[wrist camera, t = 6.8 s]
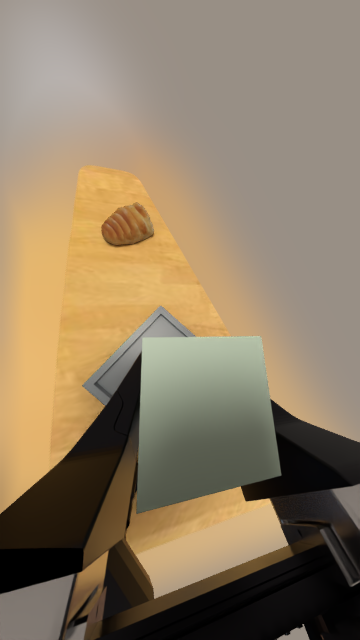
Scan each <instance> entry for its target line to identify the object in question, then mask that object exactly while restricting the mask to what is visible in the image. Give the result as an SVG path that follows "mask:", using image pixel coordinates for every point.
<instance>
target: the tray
mask: <svg viewBox="0 0 360 640" xmlns="http://www.w3.org/2000/svg"><path fill="white" fill-rule="evenodd" d="M144 337H196V336H195V335H193V334H192V333H191V332H190V331H189V330H188V329H187V328H186V327H184V326H183V325H182V324H181V323H180V322H179V321H178V320H177V319H175V318H174V317H173V316H172V315H171V314H170V313H169V312H168V311H166V310H165V309H164V308H163V307H162V306H160V307H159V308H158V309H157V310H156V311H155V312H154V313H153V314H152V315H151V316H150V317H149V318H148V319H147V320H146V321H145V322H144V323H143V324H142V325H141V326H140V327H139V328H138V329H137V330H136V331H135V332H134V333H133V334H132V335H131V336H130V337H129V338H128V339H127V340H126V341H125V342H124V343H123V344H122V345H121V346H120V348H119V349H118V350H117V351H116V352H115V353H114V354H113V355H112V356H111V357H110V358H109V359H108V360H107V361H106V362H105V363H104V364H103V365H102V366H101V367H100V368H99V369H98V370H97V371H96V372H95V373H94V374H93V375H92V376H91V377H90V378H89V379H88V380H87V381H86V382H85V383H84V384H83V385H82V386H83V387H84V388H85V389H86V390H88V391H89V392H90V393H91V394H92V395H93V396H95V397H96V398H97V399H98V400H99V401H100V402H102V403H103V404H104V405H105V406H106V405H107V403H108V402H109V400H110V399H111V397H112V396H113V394H114V393H115V391H116V390H117V388H118V387H119V385H120V384H121V382H122V380H123V379H124V377H125V376H126V374H127V373H128V371H129V370H130V368H131V367H132V365H133V363H134V362H135V360H136V359H137V357H138V356H139V354H140V353H141V351H142V338H144Z"/></svg>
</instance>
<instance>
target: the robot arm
mask: <svg viewBox="0 0 360 640" xmlns="http://www.w3.org/2000/svg"><path fill="white" fill-rule="evenodd" d="M141 367H142V351H141V353H140V354H139V356H138V357H137V359H136V360H135V362H134V363H133V365H132V367H131V368H130V370H129V371H128V373H127V374H126V376H125V377H124V379H123V380H122V382H121V384H120V385H119V387H118V388H117V390H116V391H115V393H114V394H113V396H112V397H111V399H110V400H109V402H108V403H107V405H106V406H105V407H104V409H103V410H102V411H101V413H100V414H99V415H98V417H97V418H96V419H95V421H94V422H93V423H92V424H91V426H90V427H89V428H88V429H87V431H86V432H85V433H84V435H83V436H82V437H81V438H80V440H79V441H78V442H77V443H76V445H75V446H74V447H73V448H72V450H71V451H70V452H69V453H68V454H67V455H66V456H65V457H64V458H63V459H62V460H61V461H60V462H59V463H58V464H57V465H56V466H55V467H54V468H53V469H51V470H50V471H49V472H48V473H47V474H46V475H45V476H44V477H42V478H41V479H40V480H39V481H38V482H37V483H35V484H34V485H33V486H32V487H31V488H30V489H28V490H27V491H26V492H25V493H24V494H23V495H22V496H20V497H19V498H18V499H17V500H16V501H15V502H14V503H12V504H11V505H10V506H9V507H8V508H7V509H6V510H4V511H3V512H2V513H1V514H0V640H277V638H279V637H280V636H282V635H289V634H290V631H291V630H293V629H295V628H301V627H303V625H302V624H304V626H305V629H306V631H307V634H308V637H309V639H310V640H360V442H357V441H354V440H351V439H348V438H346V437H343V436H341V435H338V434H335V433H333V432H330V431H327V430H325V429H322V428H320V427H317V426H314V425H312V424H309V423H307V422H304V421H302V420H300V419H298V418H296V417H294V416H292V415H291V414H290V413H288V412H287V411H286V410H284V409H283V408H282V407H280V406H279V405H278V404H276V403H275V402H274V401H273V400H271V399H270V401H271V408H272V415H273V422H274V428H275V435H276V442H277V449H278V456H279V463H280V470H281V476H277V477H274V478H270V479H266V480H262V481H259V482H255V483H251V484H247V485H243V486H241V489H242V492H243V495H244V498H245V501H254V500H261V499H268V498H270V501H271V503H272V505H273V508H274V510H275V512H276V515H277V517H278V520H279V522H280V524H281V528H282V530H283V533H284V535H285V537H286V540H287V542H288V544H289V545H288V546H286V547H283V548H281V549H278V550H276V551H273V552H271V553H268V554H266V555H263V556H261V557H258V558H256V559H253V560H251V561H248V562H246V563H243V564H241V565H238V566H236V567H233V568H231V569H228V570H226V571H223V572H221V573H218V574H216V575H213V576H211V577H208V578H206V579H203V580H201V581H199V582H196V583H193V584H191V585H188V586H186V587H183V588H181V589H178V590H176V591H173V592H171V593H168V594H166V595H163V596H161V597H158V598H156V599H154V592H153V586H152V584H151V581H150V578H149V575H148V574H147V572H146V571H145V569H144V568H143V566H142V565H141V563H140V562H139V560H138V558H137V557H136V555H135V554H134V552H133V551H132V549H131V548H130V546H129V545H128V543H127V541H126V540H125V538H126V532H127V528H128V526H129V524H130V518H131V510H132V503H133V498H134V495H135V492H136V491H137V483H138V464H137V463H136V459H137V452H138V446H139V425H140V396H141Z"/></svg>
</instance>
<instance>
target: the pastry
mask: <svg viewBox="0 0 360 640" xmlns="http://www.w3.org/2000/svg"><path fill="white" fill-rule="evenodd" d="M153 233H154V229H153V226H152V222H151V221H150V217H149V215H148V213H147V211H146V210H145V208H144V207H143V206H142V205H140V204H139V203H137V202H136V203H134V204H133V205H130V206H124V207H120V208H118V209H117V210H116V211H115V212H114V213H113V214H112V215H111V216H110V217H109V218H108V219H107V220H106V221H105V222H104V224H103V225H102V235H103V237H104V239H105V240H106V241H107V242H109V243H111V244H113V245H121V244H134V243H135V242H139V241H141V240H144V239H146V238H148V237H150V236H151V235H152V234H153Z"/></svg>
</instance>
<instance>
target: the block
mask: <svg viewBox="0 0 360 640" xmlns="http://www.w3.org/2000/svg"><path fill="white" fill-rule="evenodd" d="M277 476H281V470H280V463H279V456H278V449H277V442H276V435H275V428H274V422H273V415H272V408H271V401H270V395H269V387H268V380H267V374H266V367H265V360H264V353H263V347H262V339H261V336H250V337H249V336H243V337H241V336H240V337H144V338H142V367H141V396H140V425H139V454H138V483H137V512H136V514H138V513H141V512H145V511H149V510H153V509H157V508H160V507H164V506H168V505H172V504H175V503H179V502H183V501H187V500H191V499H194V498H198V497H202V496H206V495H209V494H213V493H217V492H221V491H225V490H228V489H232V488H236V487H240V486H243V485H247V484H251V483H255V482H259V481H262V480H266V479H270V478H274V477H277Z"/></svg>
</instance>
